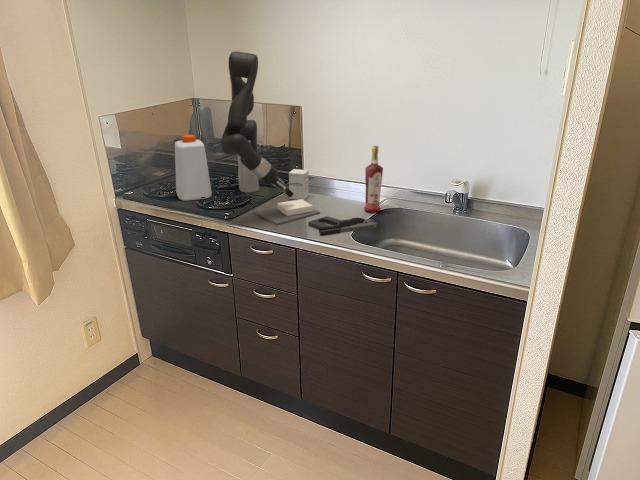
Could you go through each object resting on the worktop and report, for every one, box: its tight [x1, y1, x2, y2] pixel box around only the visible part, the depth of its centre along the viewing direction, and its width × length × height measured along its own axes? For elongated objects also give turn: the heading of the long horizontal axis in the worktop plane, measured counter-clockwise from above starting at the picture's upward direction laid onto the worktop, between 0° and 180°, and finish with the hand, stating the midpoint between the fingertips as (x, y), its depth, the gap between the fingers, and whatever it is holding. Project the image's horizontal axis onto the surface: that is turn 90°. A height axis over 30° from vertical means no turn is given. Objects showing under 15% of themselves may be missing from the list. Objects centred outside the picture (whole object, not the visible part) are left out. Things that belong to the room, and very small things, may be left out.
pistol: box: [308, 215, 378, 237], centre depth 201 cm, size 2×26×15 cm
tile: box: [276, 199, 314, 216], centre depth 214 cm, size 10×3×12 cm
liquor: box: [363, 145, 384, 214], centre depth 212 cm, size 7×7×28 cm
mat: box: [252, 205, 321, 226], centre depth 214 cm, size 18×22×1 cm
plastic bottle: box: [174, 134, 213, 202], centre depth 230 cm, size 15×15×28 cm
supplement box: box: [288, 168, 310, 201], centre depth 231 cm, size 7×7×13 cm
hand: (291, 195), depth 211 cm, fingers closed
